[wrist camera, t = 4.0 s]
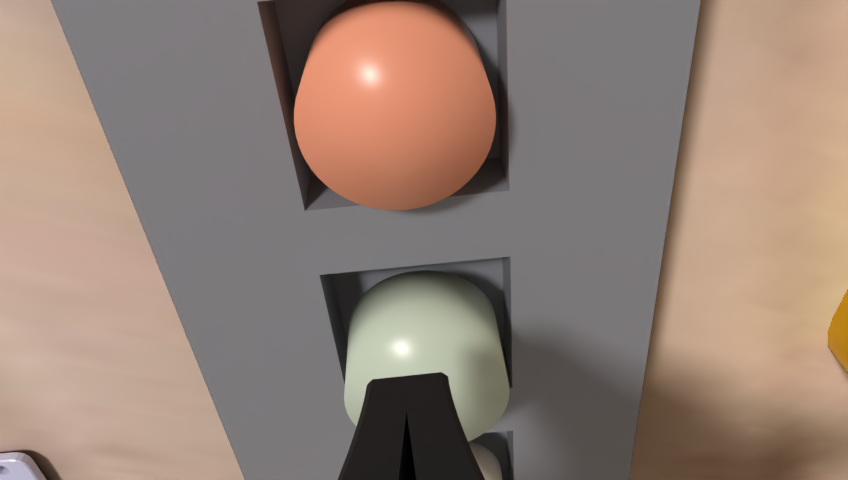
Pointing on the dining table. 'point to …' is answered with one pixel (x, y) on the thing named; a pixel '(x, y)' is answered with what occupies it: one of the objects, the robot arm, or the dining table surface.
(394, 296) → the button sage
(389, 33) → the button terracotta
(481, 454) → the button ivory
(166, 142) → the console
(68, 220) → the dining table surface
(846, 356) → the element tile
